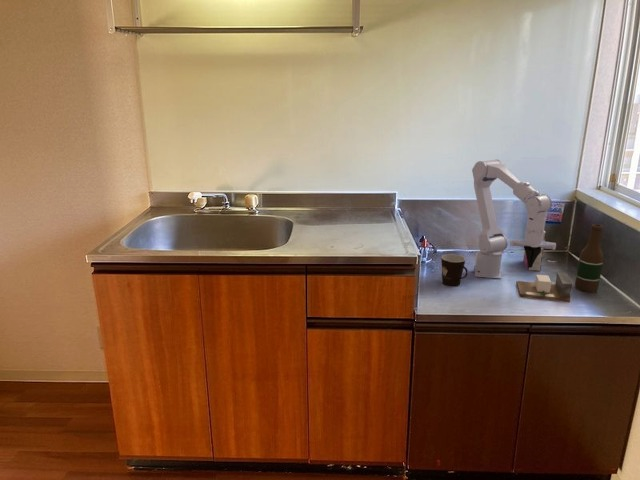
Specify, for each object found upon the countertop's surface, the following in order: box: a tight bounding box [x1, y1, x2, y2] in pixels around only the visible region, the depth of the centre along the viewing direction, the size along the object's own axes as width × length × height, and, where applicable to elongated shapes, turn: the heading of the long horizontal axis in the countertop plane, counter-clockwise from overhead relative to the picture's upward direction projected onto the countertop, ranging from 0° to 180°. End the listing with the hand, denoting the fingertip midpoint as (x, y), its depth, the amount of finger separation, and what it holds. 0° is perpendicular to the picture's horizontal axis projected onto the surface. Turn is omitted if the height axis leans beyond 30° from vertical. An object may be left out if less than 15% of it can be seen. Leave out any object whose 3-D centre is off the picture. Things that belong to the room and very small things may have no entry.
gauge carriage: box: [534, 274, 556, 295], centre depth 171 cm, size 6×9×4 cm
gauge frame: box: [515, 272, 573, 303], centre depth 173 cm, size 16×12×6 cm
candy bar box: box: [522, 229, 547, 272], centre depth 196 cm, size 11×5×16 cm, turn 168°
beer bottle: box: [574, 223, 604, 294], centre depth 174 cm, size 8×8×24 cm
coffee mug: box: [440, 253, 468, 287], centre depth 179 cm, size 12×9×10 cm
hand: (529, 266), depth 172 cm, fingers closed
